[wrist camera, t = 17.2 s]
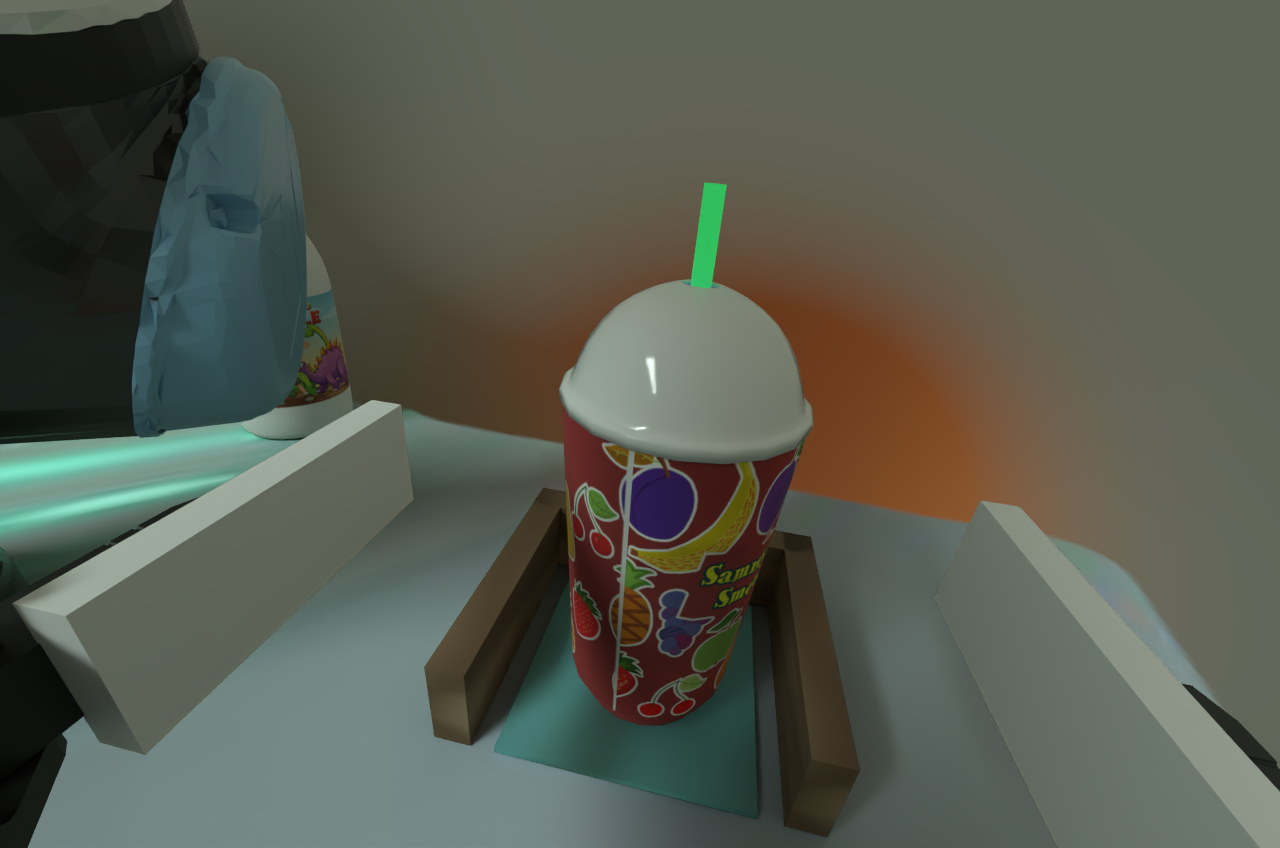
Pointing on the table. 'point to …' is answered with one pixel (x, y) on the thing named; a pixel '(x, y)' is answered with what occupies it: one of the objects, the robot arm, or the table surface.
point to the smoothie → (674, 483)
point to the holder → (653, 754)
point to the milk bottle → (312, 368)
